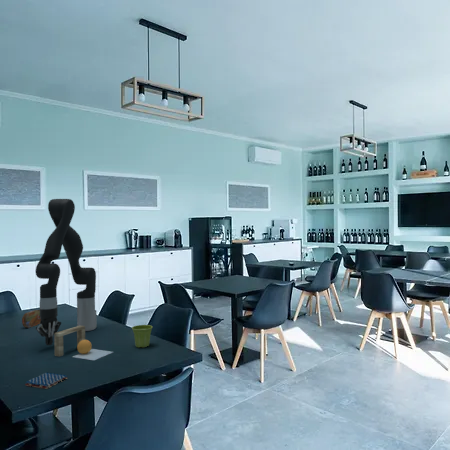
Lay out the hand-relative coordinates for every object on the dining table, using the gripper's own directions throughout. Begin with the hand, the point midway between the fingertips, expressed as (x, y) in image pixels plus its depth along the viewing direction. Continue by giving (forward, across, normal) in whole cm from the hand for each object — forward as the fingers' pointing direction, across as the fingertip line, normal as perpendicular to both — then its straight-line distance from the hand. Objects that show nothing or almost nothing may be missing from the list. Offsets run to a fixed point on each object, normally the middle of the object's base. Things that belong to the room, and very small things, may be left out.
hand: (49, 344), depth 191 cm
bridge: (+2, 0, -13) cm, 13 cm away
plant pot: (+2, +19, -38) cm, 43 cm away
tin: (+2, +28, +44) cm, 52 cm away
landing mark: (+2, 0, -26) cm, 26 cm away
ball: (-2, 0, -21) cm, 21 cm away
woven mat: (+2, -31, -33) cm, 45 cm away
